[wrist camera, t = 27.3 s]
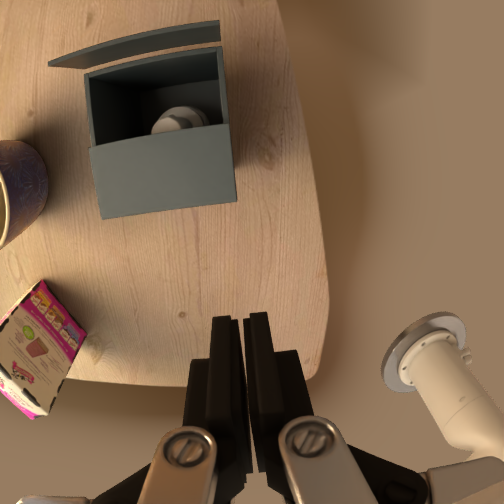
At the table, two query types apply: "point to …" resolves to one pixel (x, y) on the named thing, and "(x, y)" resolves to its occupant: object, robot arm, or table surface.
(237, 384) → the robot arm
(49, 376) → the candy bar box
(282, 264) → the table surface
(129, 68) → the chute
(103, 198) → the panel
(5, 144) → the planter
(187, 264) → the table surface
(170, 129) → the candle
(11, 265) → the table surface
